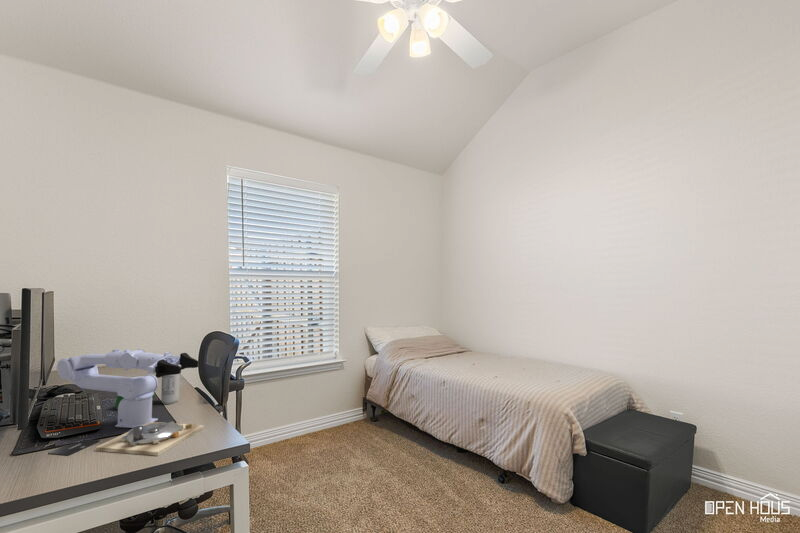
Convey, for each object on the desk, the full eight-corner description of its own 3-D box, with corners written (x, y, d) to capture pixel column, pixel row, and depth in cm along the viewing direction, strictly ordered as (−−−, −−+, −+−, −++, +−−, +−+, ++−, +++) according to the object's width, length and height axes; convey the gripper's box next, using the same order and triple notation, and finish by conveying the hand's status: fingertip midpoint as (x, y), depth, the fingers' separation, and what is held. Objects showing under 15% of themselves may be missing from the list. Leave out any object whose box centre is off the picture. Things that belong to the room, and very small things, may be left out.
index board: (95, 450, 112) (95, 442, 112) (149, 424, 132) (149, 418, 132) (158, 455, 110) (158, 447, 110) (203, 428, 129) (203, 421, 129)
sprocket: (108, 443, 114) (108, 428, 114) (150, 423, 130) (150, 409, 130) (157, 447, 112) (157, 431, 112) (194, 426, 128) (194, 412, 128)
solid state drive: (100, 442, 119) (100, 440, 119) (68, 457, 109) (68, 454, 109) (80, 440, 120) (80, 438, 120) (47, 455, 110) (47, 453, 110)
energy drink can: (182, 400, 158) (182, 363, 158) (172, 405, 152) (172, 366, 152) (168, 399, 159) (169, 362, 159) (157, 404, 153) (158, 365, 153)
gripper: (136, 355, 125) (172, 360, 122) (172, 346, 139) (205, 350, 136) (135, 377, 125) (171, 383, 122) (172, 365, 139) (204, 370, 136)
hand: (189, 367), depth 129 cm, fingers open, 7 cm apart
